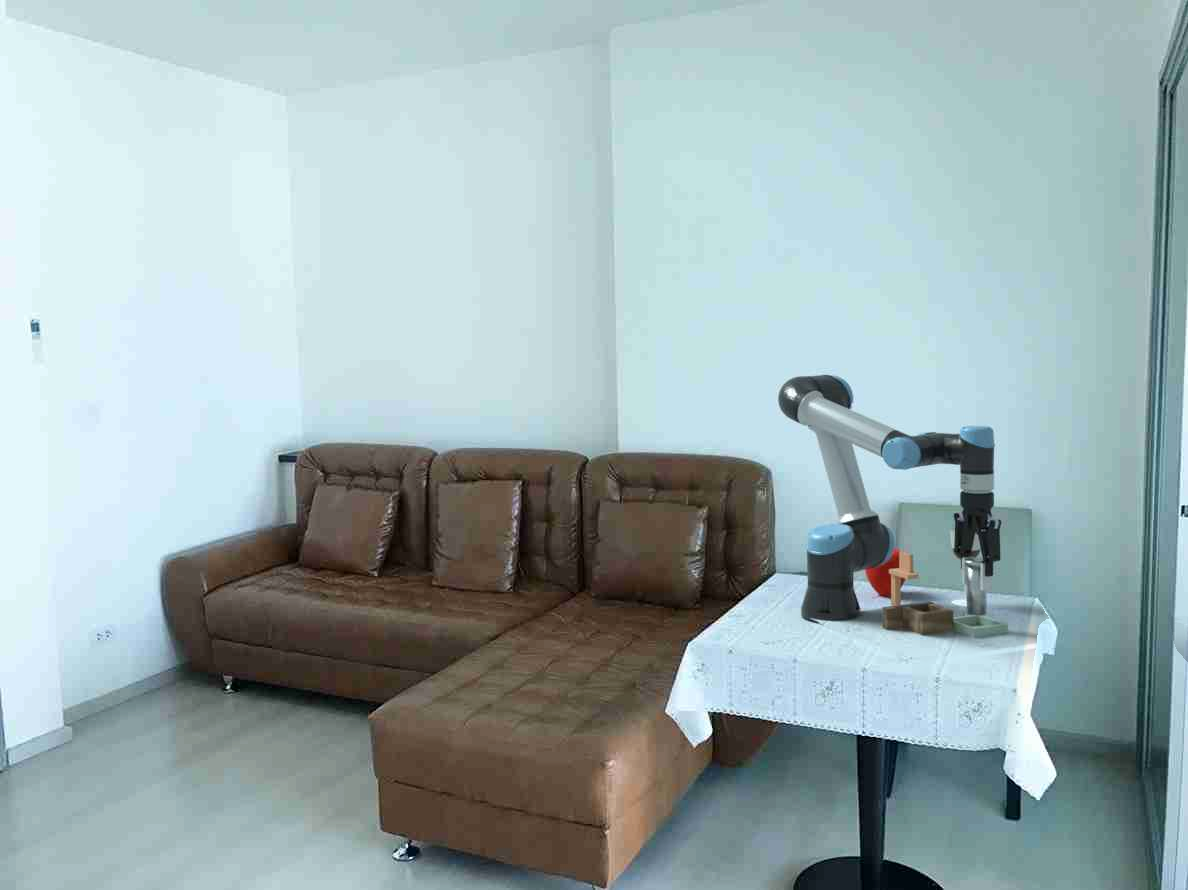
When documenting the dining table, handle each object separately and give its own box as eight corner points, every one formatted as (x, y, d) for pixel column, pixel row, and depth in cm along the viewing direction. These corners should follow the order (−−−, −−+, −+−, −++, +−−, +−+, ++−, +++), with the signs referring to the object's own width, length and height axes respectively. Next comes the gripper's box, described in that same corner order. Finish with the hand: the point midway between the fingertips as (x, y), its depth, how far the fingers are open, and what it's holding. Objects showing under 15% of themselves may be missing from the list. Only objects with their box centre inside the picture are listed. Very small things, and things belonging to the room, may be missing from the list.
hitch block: (882, 632, 239) (882, 607, 239) (928, 625, 244) (928, 601, 243) (906, 641, 231) (906, 616, 230) (953, 634, 235) (953, 609, 235)
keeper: (888, 605, 239) (888, 551, 238) (899, 603, 240) (898, 550, 239) (908, 612, 232) (908, 557, 231) (918, 611, 233) (918, 555, 232)
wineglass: (945, 603, 264) (945, 530, 262) (958, 597, 270) (958, 526, 268) (974, 608, 258) (974, 533, 256) (987, 601, 265) (987, 529, 263)
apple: (889, 587, 283) (889, 542, 282) (917, 596, 273) (917, 549, 272) (856, 592, 279) (856, 546, 278) (884, 601, 268) (884, 553, 267)
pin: (959, 611, 237) (959, 559, 236) (977, 609, 239) (977, 556, 238) (975, 617, 232) (975, 563, 230) (994, 614, 233) (994, 561, 232)
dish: (945, 630, 239) (945, 618, 239) (978, 625, 242) (978, 614, 242) (973, 641, 229) (973, 629, 229) (1007, 636, 233) (1007, 624, 232)
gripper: (938, 487, 240) (938, 580, 242) (992, 496, 223) (991, 596, 225) (962, 485, 243) (962, 577, 245) (1018, 494, 225) (1017, 593, 227)
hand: (976, 586), depth 235 cm, fingers closed on pin, 6 cm apart
